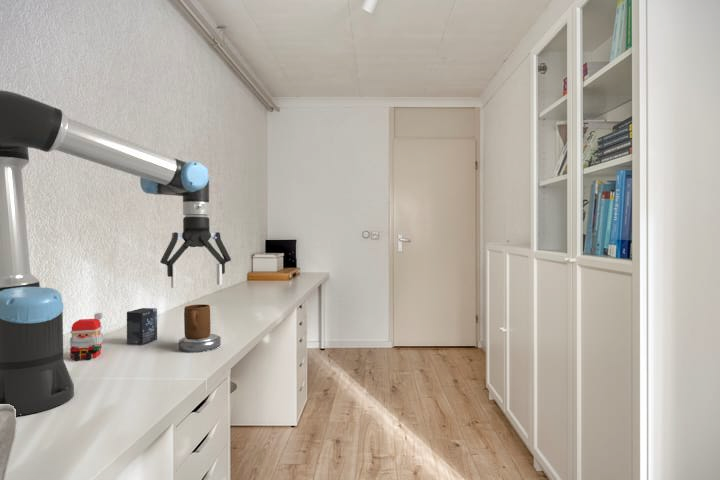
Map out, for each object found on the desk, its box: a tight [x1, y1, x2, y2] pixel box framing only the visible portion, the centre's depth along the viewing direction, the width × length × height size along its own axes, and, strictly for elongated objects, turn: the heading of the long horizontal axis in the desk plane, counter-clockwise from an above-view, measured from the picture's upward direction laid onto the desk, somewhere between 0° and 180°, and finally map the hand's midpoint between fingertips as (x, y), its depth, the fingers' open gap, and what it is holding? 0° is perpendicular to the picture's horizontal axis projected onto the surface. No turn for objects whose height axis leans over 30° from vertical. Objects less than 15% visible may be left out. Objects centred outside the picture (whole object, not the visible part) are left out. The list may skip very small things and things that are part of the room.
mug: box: [183, 304, 211, 339], centre depth 134 cm, size 12×8×9 cm, turn 11°
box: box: [126, 307, 158, 346], centre depth 143 cm, size 8×6×11 cm
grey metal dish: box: [178, 333, 221, 353], centre depth 135 cm, size 12×12×3 cm
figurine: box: [69, 312, 103, 362], centre depth 125 cm, size 8×7×12 cm
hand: (197, 286), depth 134 cm, fingers open, 13 cm apart
